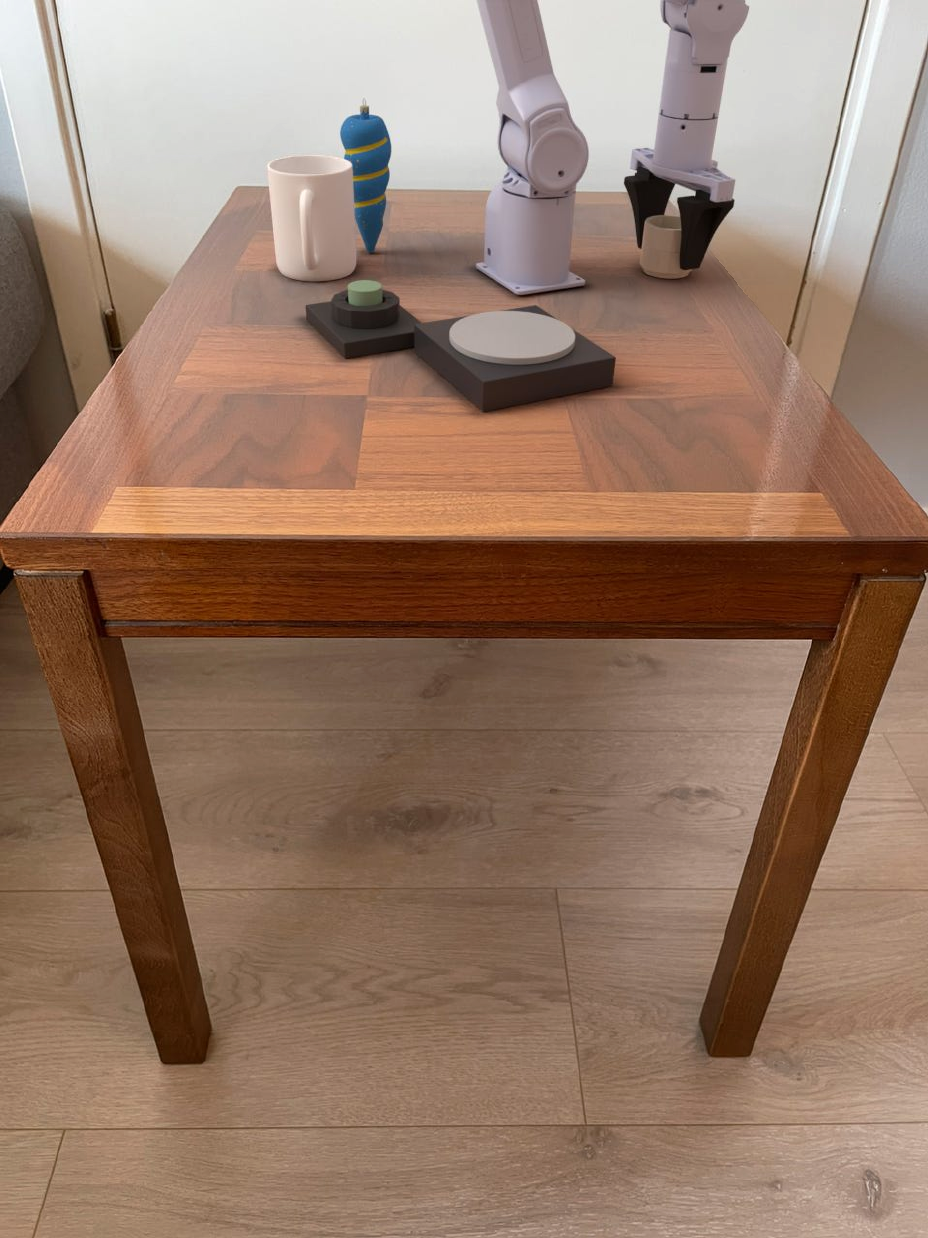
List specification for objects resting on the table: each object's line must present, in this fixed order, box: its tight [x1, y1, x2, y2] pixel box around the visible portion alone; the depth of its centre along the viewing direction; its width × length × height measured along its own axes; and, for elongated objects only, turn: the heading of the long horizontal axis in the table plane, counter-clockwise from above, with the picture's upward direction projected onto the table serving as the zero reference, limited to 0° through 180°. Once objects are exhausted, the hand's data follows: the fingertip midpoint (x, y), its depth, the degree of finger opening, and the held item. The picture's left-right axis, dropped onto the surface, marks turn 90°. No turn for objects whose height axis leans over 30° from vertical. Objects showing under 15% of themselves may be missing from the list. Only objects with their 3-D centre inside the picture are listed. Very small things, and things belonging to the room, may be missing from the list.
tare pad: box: [305, 289, 422, 359], centre depth 87 cm, size 10×8×3 cm
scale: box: [413, 304, 617, 413], centre depth 81 cm, size 13×12×3 cm
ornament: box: [339, 98, 392, 254], centre depth 102 cm, size 5×5×15 cm
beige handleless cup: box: [639, 214, 693, 280], centre depth 102 cm, size 6×6×5 cm
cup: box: [266, 154, 357, 282], centre depth 97 cm, size 8×12×10 cm
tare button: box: [347, 279, 383, 306], centre depth 86 cm, size 3×3×2 cm
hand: (667, 257), depth 103 cm, fingers open, 7 cm apart
